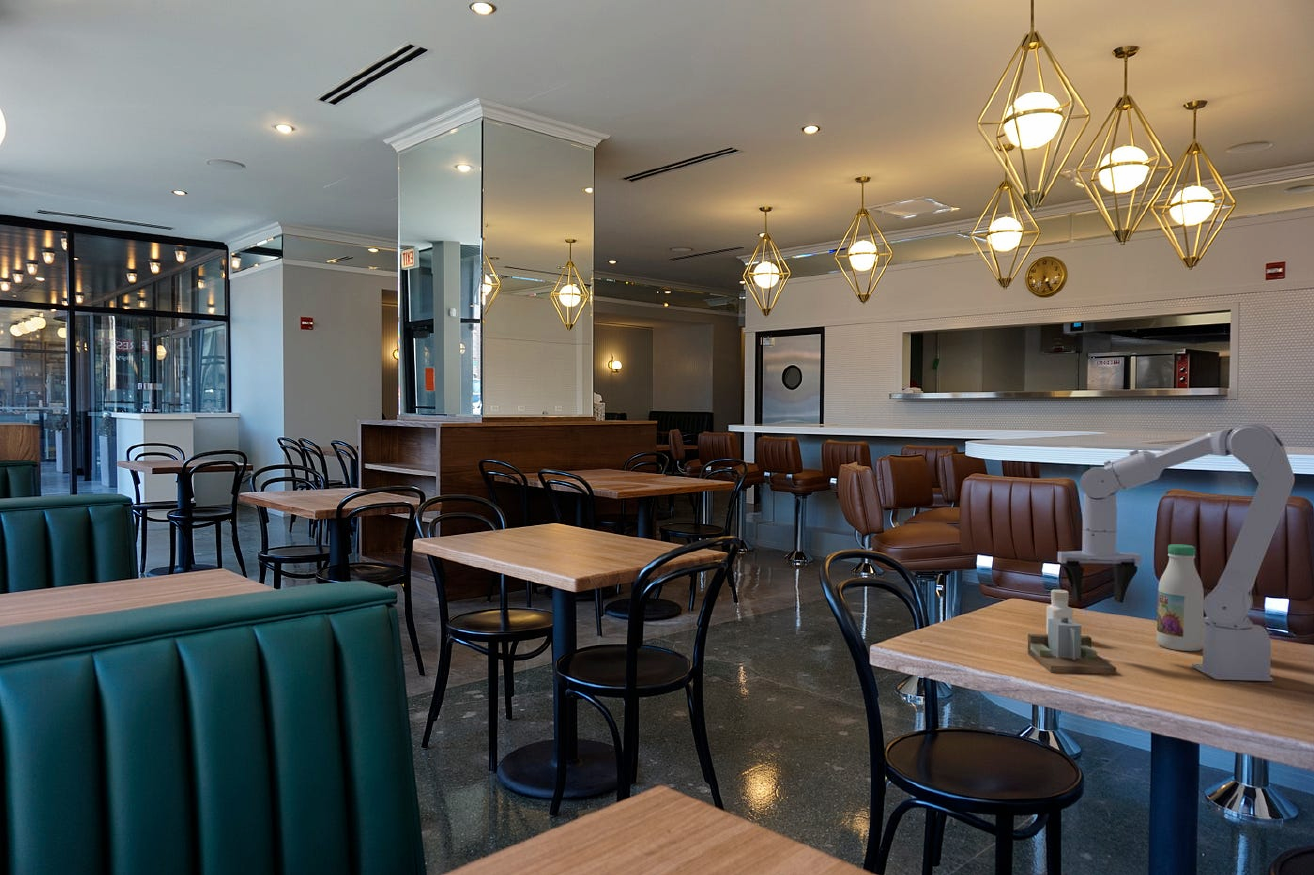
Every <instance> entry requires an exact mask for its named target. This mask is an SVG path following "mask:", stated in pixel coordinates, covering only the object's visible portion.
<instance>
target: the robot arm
mask: <svg viewBox="0 0 1314 875" xmlns="http://www.w3.org/2000/svg"><path fill="white" fill-rule="evenodd" d="M1208 455H1210V456H1211V455H1213V456H1221V457H1226V456H1227V457H1228V456H1231V455H1232V456H1233V457H1234V458H1236V460H1238V461H1239V462H1240V463H1242V464H1243V465H1245V466H1246V467H1247V468H1248V470H1249V471H1250V473H1251V474H1252V475H1253V477H1254V479H1255V480H1256V481H1257V483H1258V484H1257V487H1256V491H1255V493H1254V494H1253V495H1254V496H1253V498H1252V501H1251V503H1250V504H1249V508H1248V510H1247V513H1246V516H1245V517H1244V520H1243V522H1242V524H1241V525H1242V526H1241V528H1240V530H1239V532H1238V535H1237V538H1236V541H1235V543H1234V545H1233V548H1232V551H1231V553H1230V556H1229V558H1228V560H1227V563H1226V565H1225V568H1224V570H1223V572H1222V574H1221V576H1220V577H1219V580H1218V582H1217V585H1216V586H1215V587H1214V588H1213V590H1212V591H1210V592H1209V593H1208V594H1206V596H1205V597H1204V603H1203V608H1204V614H1205V615H1206V616H1204V618H1203V647H1202V663H1192V664H1191V667H1192V668H1194V669H1196V670H1198V671H1200V672H1201V673H1203V674H1205V675H1207V676H1209V677H1210V678H1213V679H1214V680H1218V681H1219V680H1223V681H1224V680H1226V681H1228V680H1229V681H1254V682H1255V681H1257V682H1258V681H1259V682H1260V681H1262V682H1273V681H1274V679H1273V677H1271V660H1272V658H1271V654H1272V651H1271V650H1272V643H1271V638H1270V635H1269V633H1268V631H1267V630H1266V629H1265V627H1263V626H1262V625H1259V624H1254V622H1253V621H1251V619H1250V617H1249V616H1247V614H1248V613H1249V612H1250V610H1252V608H1253V604H1254V601H1253V595H1252V590H1253V588H1254V585H1255V582H1256V578H1257V575H1258V573H1259V570H1260V568H1261V565H1262V563H1263V561H1264V558H1265V556H1266V554H1267V551H1268V548H1269V546H1270V543H1271V540H1272V538H1273V535H1274V534H1275V531H1276V528H1277V526H1278V523H1279V521H1280V518H1281V516H1282V514H1283V513H1284V512H1283V511H1284V508H1285V506H1286V505H1287V502H1288V499H1289V497H1290V494H1291V492H1292V490H1293V487H1294V484H1295V479H1296V478H1295V474H1294V471H1293V468H1292V466H1291V463H1290V460H1289V457H1288V455H1287V451H1286V448H1285V443H1284V442H1283V440H1281V438H1280V437H1279V436H1278V435H1277V434H1276V433H1275V432H1274V430H1273V429H1272V428H1270V427H1269V426H1266V425H1264V424H1262V423H1247V424H1243V425H1240V426H1238V427H1236V428H1233V427H1231V428H1228V429H1227V428H1226V429H1223V430H1217V431H1213V432H1208V433H1206V434H1203V435H1201V436H1198V437H1195V438H1192V439H1190V440H1188V441H1185V442H1183V443H1180V444H1177V445H1175V446H1172V447H1170V448H1167V449H1165V450H1162V451H1159V452H1157V453H1153V452H1151V451H1148V450H1146V449H1145V450H1141V451H1139V449H1134V450H1131V451H1129V455H1127V456H1124V457H1122V458H1119V459H1116V460H1114V461H1112V462H1111V460H1106V461H1103V465H1104V466H1094V467H1093V466H1092V467H1091V468H1090V469H1088V470H1086V471H1085V472H1084V473H1083V474H1082V476H1081V477H1080V482H1079V485H1080V488H1081V490H1082V492H1083V505H1082V550H1077V551H1076V550H1075V551H1074V550H1073V551H1057V563H1060V564H1061V568H1062V569H1063V571H1064V573H1065V575H1066V578H1067V580H1068V583H1069V585H1070V589H1071V593H1072V600H1073V601H1075V602H1077V603H1078V602H1079V603H1081V602H1082V598H1083V597H1082V596H1083V592H1082V591H1083V590H1082V588H1083V587H1082V586H1083V576H1084V572H1085V568H1084V567H1083V566H1082V565H1081V564H1112V570H1113V576H1114V589H1113V590H1114V594H1113V595H1114V597H1113V598H1114V601H1115V602H1117V603H1120V604H1121V603H1123V604H1124V600H1125V596H1126V593H1127V590H1128V587H1129V586H1130V584H1131V582H1132V579H1134V576H1135V575H1136V574H1137V572H1138V565H1139V566H1140V565H1142V555H1141V554H1140V553H1138V552H1122V551H1121V552H1120V551H1117V513H1118V512H1117V511H1118V510H1117V509H1118V507H1117V493H1118V492H1119V491H1127V490H1129V489H1133V488H1135V487H1139V486H1141V485H1145V484H1148V483H1151V482H1152V481H1155V480H1159V479H1160V476H1161V474H1162V472H1163V470H1165V469H1168V468H1170V467H1173V466H1177V465H1180V464H1183V463H1187V462H1191V461H1193V460H1196V459H1199V458H1202V457H1205V456H1208Z"/></svg>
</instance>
